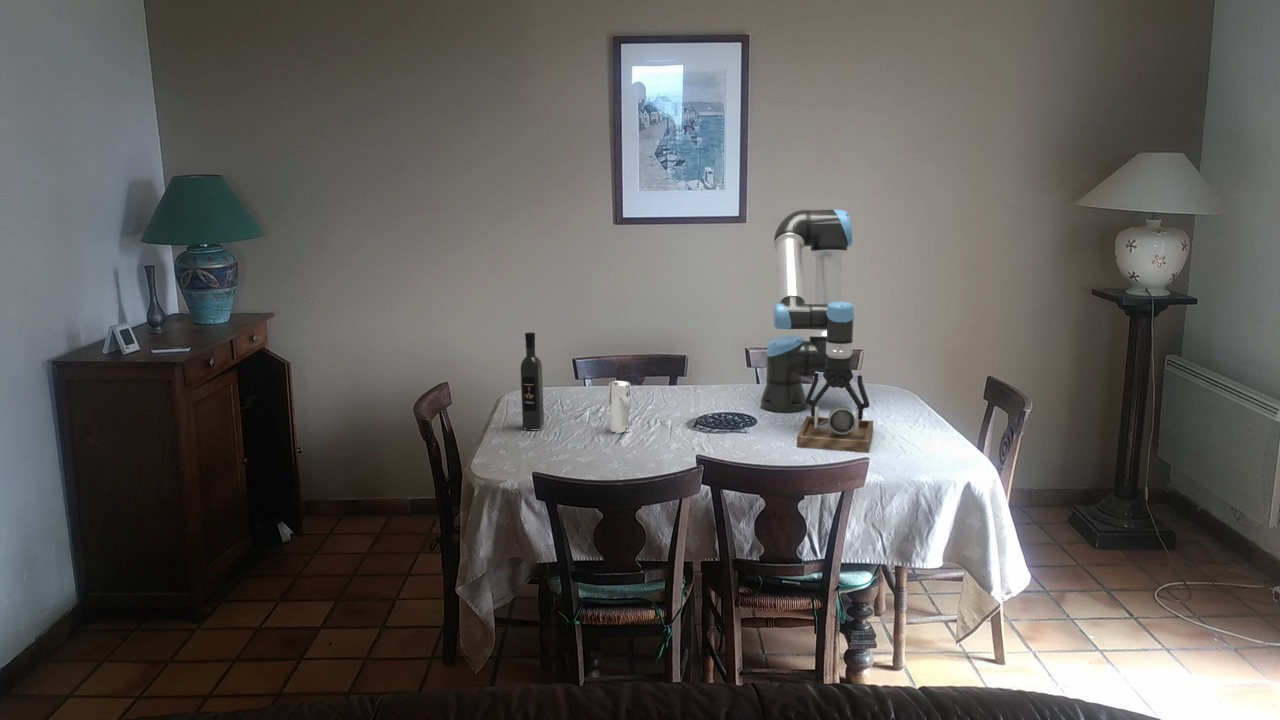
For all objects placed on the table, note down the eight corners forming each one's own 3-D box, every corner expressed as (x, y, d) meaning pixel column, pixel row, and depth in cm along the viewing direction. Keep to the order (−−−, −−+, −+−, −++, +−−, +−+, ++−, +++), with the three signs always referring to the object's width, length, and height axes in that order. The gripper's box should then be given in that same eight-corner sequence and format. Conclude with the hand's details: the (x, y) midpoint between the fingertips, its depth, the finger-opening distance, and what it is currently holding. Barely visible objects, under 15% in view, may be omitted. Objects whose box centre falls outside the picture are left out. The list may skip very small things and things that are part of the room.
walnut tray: (796, 446, 269) (797, 436, 268) (806, 425, 289) (806, 416, 289) (868, 452, 263) (868, 442, 262) (872, 430, 284) (873, 420, 283)
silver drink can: (635, 429, 288) (634, 381, 285) (625, 435, 282) (624, 387, 278) (615, 426, 291) (614, 379, 287) (605, 432, 285) (604, 384, 281)
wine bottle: (539, 431, 287) (536, 335, 280) (521, 430, 288) (517, 334, 281) (545, 425, 292) (541, 331, 286) (527, 425, 293) (523, 331, 287)
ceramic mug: (853, 427, 279) (853, 402, 278) (855, 434, 271) (855, 409, 270) (816, 426, 281) (817, 402, 279) (818, 434, 273) (818, 409, 271)
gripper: (796, 356, 271) (794, 429, 276) (879, 360, 264) (876, 435, 269) (799, 351, 278) (797, 422, 283) (881, 355, 271) (877, 427, 276)
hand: (836, 428), depth 276 cm, fingers open, 11 cm apart
